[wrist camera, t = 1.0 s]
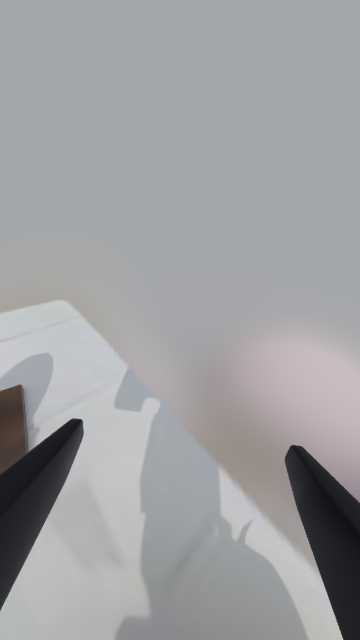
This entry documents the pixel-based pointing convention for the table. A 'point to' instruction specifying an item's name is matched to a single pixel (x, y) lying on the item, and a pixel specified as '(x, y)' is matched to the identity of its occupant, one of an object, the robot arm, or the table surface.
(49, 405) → the table surface
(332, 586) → the robot arm
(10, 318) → the table surface
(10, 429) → the rack
